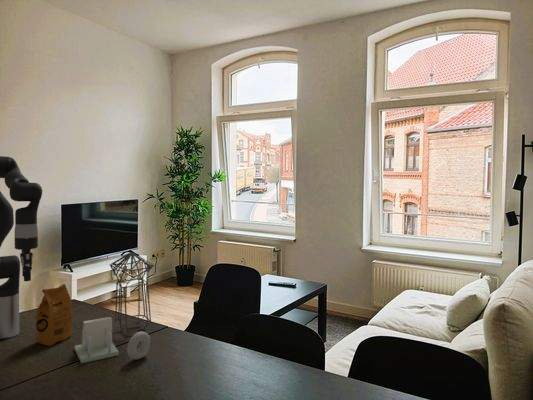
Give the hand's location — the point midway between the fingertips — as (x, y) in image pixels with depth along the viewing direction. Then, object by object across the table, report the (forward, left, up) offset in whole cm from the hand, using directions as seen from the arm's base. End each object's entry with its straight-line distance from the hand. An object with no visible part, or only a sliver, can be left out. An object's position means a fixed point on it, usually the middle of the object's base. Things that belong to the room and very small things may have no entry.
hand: (26, 278), depth 152 cm
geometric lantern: (0, +39, -28) cm, 48 cm away
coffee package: (-8, +10, -28) cm, 31 cm away
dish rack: (+14, +22, -28) cm, 38 cm away
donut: (+28, +34, -28) cm, 52 cm away
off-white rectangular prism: (+11, +23, -27) cm, 37 cm away
